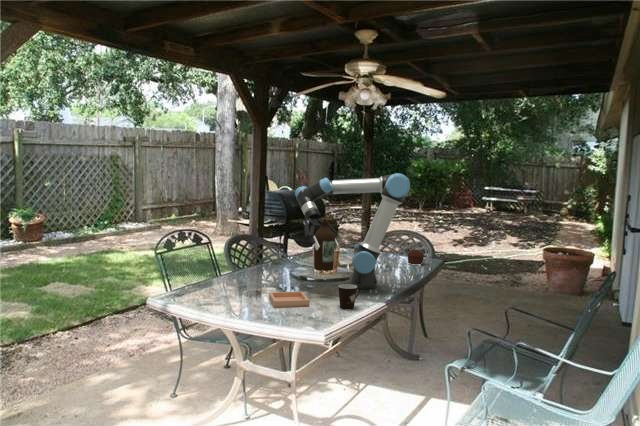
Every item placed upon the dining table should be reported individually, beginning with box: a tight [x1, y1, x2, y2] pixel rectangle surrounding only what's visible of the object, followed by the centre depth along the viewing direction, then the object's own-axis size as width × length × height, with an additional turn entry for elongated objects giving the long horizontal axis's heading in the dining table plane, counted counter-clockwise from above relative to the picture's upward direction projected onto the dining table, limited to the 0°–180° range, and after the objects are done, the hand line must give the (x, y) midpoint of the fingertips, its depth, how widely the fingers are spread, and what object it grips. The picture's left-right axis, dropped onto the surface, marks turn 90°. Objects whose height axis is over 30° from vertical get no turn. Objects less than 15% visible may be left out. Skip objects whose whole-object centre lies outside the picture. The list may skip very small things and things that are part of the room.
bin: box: [268, 291, 310, 309], centre depth 236 cm, size 16×16×3 cm
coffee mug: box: [337, 283, 361, 310], centre depth 230 cm, size 12×9×10 cm
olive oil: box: [313, 217, 335, 272], centre depth 246 cm, size 11×11×25 cm
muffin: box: [407, 249, 425, 264], centre depth 341 cm, size 12×11×10 cm
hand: (327, 247), depth 243 cm, fingers closed on olive oil, 10 cm apart
